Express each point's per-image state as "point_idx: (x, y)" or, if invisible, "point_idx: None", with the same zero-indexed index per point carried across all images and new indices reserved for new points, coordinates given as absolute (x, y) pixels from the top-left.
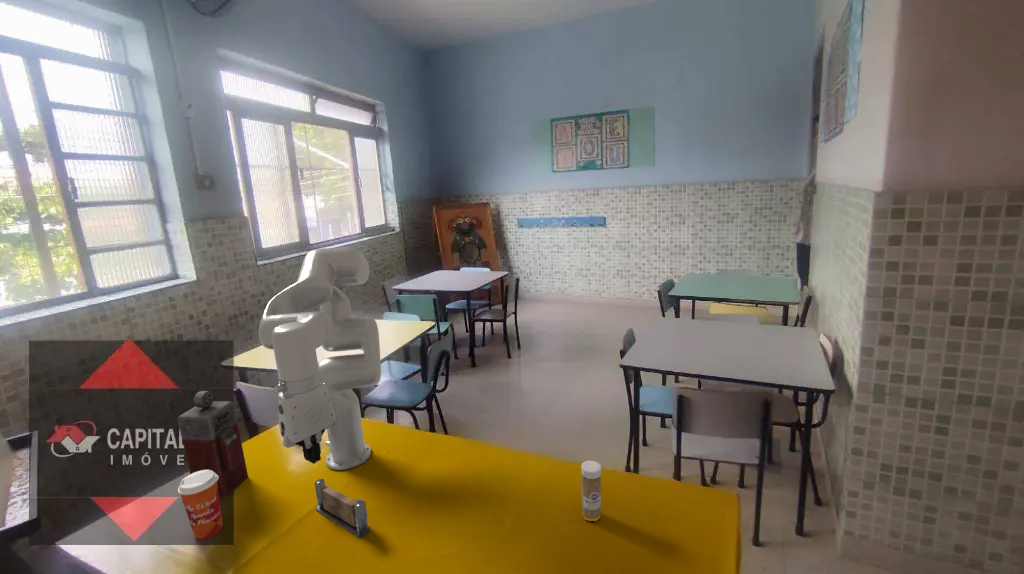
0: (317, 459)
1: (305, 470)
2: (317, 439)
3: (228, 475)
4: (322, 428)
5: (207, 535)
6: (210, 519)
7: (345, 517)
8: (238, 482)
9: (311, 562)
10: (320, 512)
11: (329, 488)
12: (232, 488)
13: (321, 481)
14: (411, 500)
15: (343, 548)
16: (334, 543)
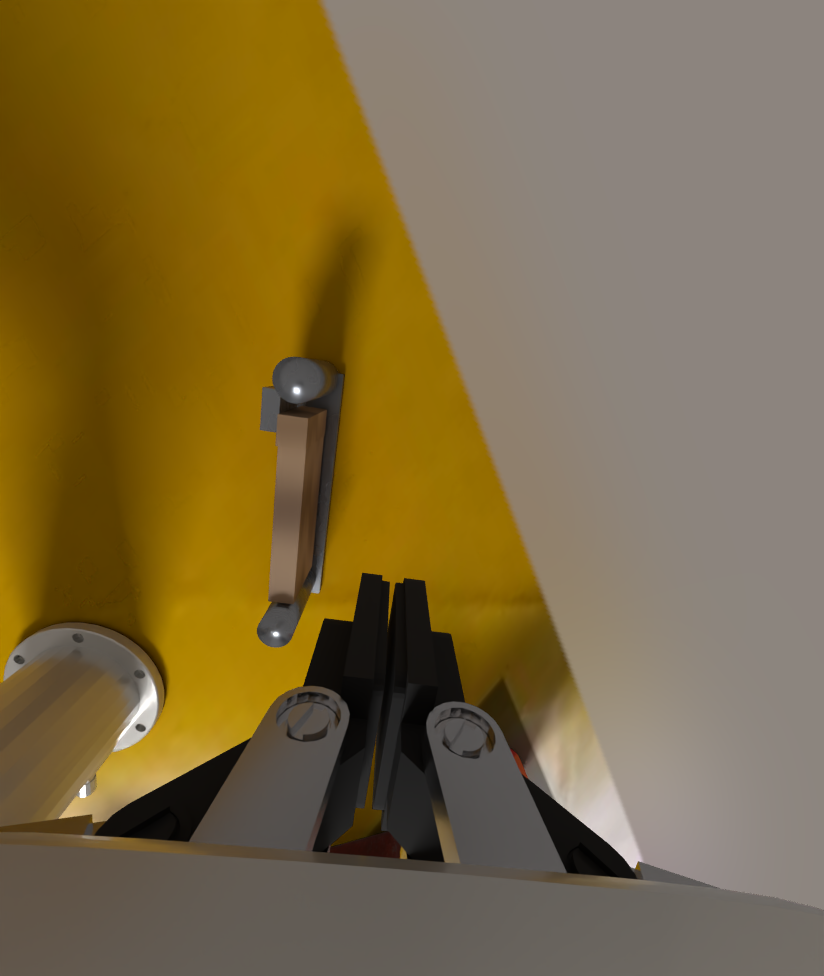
0: (387, 587)
1: (213, 748)
2: (325, 737)
3: None
4: (186, 890)
5: (512, 753)
6: None
7: (318, 459)
8: (346, 852)
9: (474, 439)
10: (322, 567)
11: (274, 578)
12: (369, 845)
13: (269, 627)
14: (124, 322)
15: (398, 390)
16: (394, 432)
